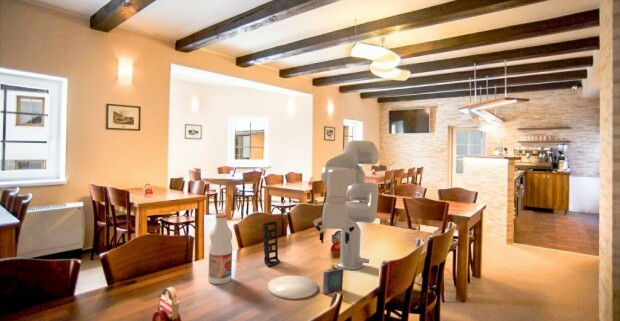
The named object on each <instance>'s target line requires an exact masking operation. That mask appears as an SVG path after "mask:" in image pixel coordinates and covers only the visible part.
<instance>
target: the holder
mask: <svg viewBox="0 0 620 321" xmlns="http://www.w3.org/2000/svg"><path fill="white" fill-rule="evenodd" d="M269 226H274V227H273V228H272V229H269ZM273 233H274V235H272V234H273ZM273 239H274V242H270V240H273ZM262 240H263V252H264V257H263V258H264V259H263V260H264V261H263V262H264V264H265V265H266V266H267V267H268V268H271V267H273V266H277V265H279V264H280V263H281V260H280V259H279V254H278V253H279V252H278V250H279V248H278V247H279V245H278V223H277V221H268V222H264V223H262ZM269 242H270V243H269ZM273 246H274V247H275V248H274V249H273ZM271 253H275V254H274V256H270V254H271Z"/></svg>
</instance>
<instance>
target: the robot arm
mask: <svg viewBox="0 0 620 321" xmlns="http://www.w3.org/2000/svg"><path fill="white" fill-rule="evenodd" d="M379 158H380V153H379V150H378V147H377V146H376V144H375V143H374V142H373V141H371V140H350V141H348V142H347V143H346V144H345V147H344V148H343V150H342V153H341V154H339V155H337V156H334V157H331V158H330V159H329V160H327V161H326V162H325V164H324V166H323V168H322V170H321V174H320V179H321V181H322V183H323V184H325V185H326V201H325V202H324V203H323V207H322V216H320V217H319V218H316V219H314V220H313V225H314V227H315V229H316V230H317V231H318V232H319V241H320V242H321V244H323V243H324V234H325V233H324V231H325V230H326V229H327V230H329V229H332V230H340V232H341V234H340V249H339V250H340V252H339V254H340V256H339V260H337V261H336V266H337V267H341V268H343V269H344V270H349V271H354V270H360V269H362V268H363V264H369V263H370V258H366V257H361V228H360V226H359V224H358V223H365V224H373V223H374V222H375V221H376V217H377V213H378V212H377V210H378V201H379V188H378V185H377V184H376V183H373V182H367V181H365V180H366V173H365V171H364V170H363V168H362V167H361V166H360V165H370V166H371V165H376V164H378V162H379ZM318 223H321V224H322V225H321V227H320V225H319V224H318Z"/></svg>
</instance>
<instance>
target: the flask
mask: <svg viewBox="0 0 620 321" xmlns="http://www.w3.org/2000/svg"><path fill="white" fill-rule="evenodd" d="M344 270H345V269H343V268H341V267H338V266H337V267H336V266H335V264H331V267H330V268H328V269H325V270H323V278H322V294H323V295H329V294H334V293H337V292H342V291H343V282H344Z"/></svg>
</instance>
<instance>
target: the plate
mask: <svg viewBox="0 0 620 321" xmlns="http://www.w3.org/2000/svg"><path fill="white" fill-rule="evenodd" d="M267 290H268V292H269V293H270V294H271V295H273V296H275V297H278V298H282V299H287V300H288V299H289V300H300V299H305V298H308V297H311V296H313V295H315V293H317V291H318V284H317V282H316V281H315V280H313V279H311V278H309V277H305V276H301V275H284V276H279V277H276V278H274V279H272V280H270V281H268V284H267Z"/></svg>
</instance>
